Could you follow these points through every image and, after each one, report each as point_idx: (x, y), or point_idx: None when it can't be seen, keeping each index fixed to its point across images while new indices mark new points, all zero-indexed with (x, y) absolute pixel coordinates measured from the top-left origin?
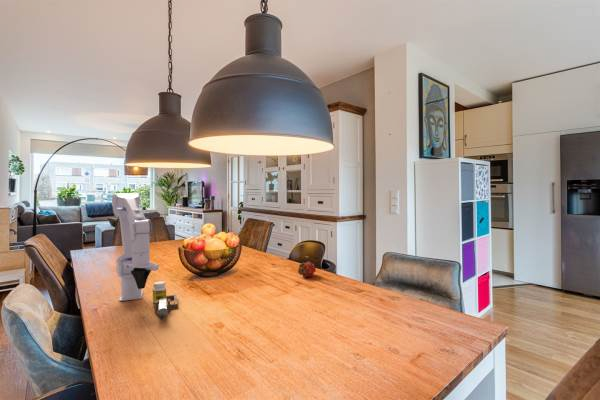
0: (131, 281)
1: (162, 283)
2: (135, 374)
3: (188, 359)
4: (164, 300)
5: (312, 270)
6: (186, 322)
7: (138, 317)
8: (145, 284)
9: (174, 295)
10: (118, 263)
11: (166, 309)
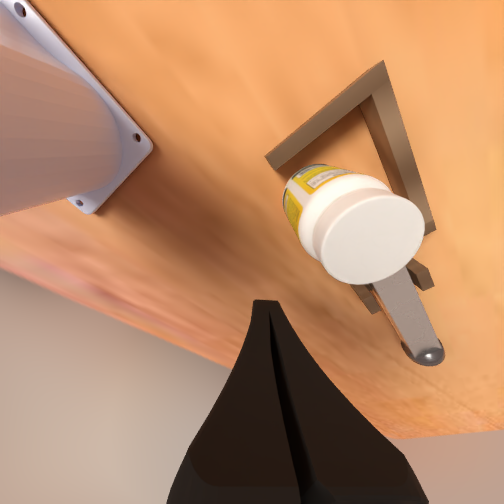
0: (6, 198)
1: (411, 258)
2: (418, 423)
3: (491, 399)
4: (404, 289)
5: None
6: (475, 311)
7: (308, 312)
8: (284, 314)
9: (375, 93)
10: None
11: (443, 352)
